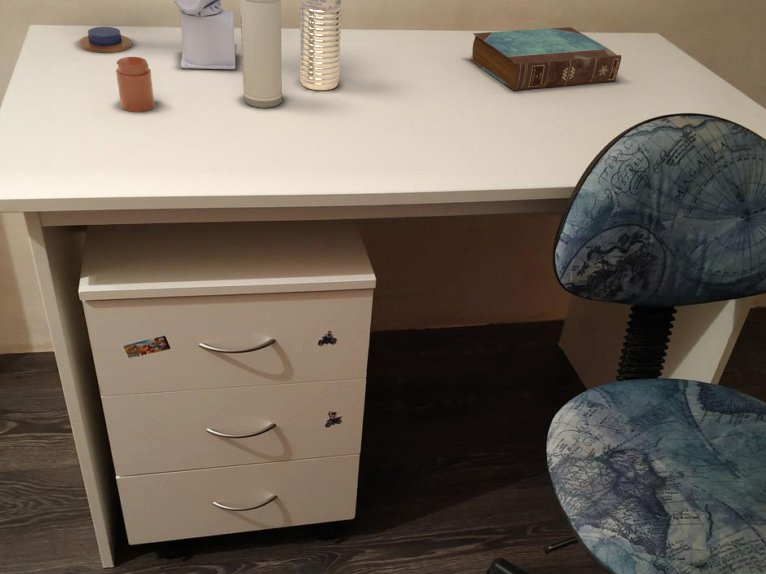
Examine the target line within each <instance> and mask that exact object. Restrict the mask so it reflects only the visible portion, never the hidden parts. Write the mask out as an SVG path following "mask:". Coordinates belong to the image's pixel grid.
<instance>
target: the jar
mask: <svg viewBox="0 0 766 574" xmlns="http://www.w3.org/2000/svg"><path fill="white" fill-rule="evenodd" d="M116 65H117V68H116V70H115V74H116V82H117V88H118V95H119V103H120V108H122V109H123V110H124V111H127V112H131V113H142V112H148V111H151V110H153V109H154V108H155V106H156V104H155V96H154V87H153V80H152V79H153V78H152V70H151V69H150V68H149V63H148V61H147V59H146V58H143V57H139V56H126V57H122V58H119V59H118V60H117V61H116Z"/></svg>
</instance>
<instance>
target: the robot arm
mask: <svg viewBox="0 0 766 574" xmlns="http://www.w3.org/2000/svg"><path fill="white" fill-rule="evenodd" d="M172 1H173V2H174V4H175V6H177V8H178V10H179V11H178V12H179V19H180V29H181V38H182V39H181V42H182V52H181V60H180V68H182V69H201V70H202V69H207V70H208V69H209V70H235V69H236V56H237V55H238V49H237V48H238V46H237V44H236V43H235V24H234V11H233V10H227V9H226V10H225V9H223V8H222V0H172Z"/></svg>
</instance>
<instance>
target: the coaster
mask: <svg viewBox="0 0 766 574" xmlns="http://www.w3.org/2000/svg"><path fill="white" fill-rule="evenodd" d="M121 38H122V41H121V43H119V44H117V45H113V46H98V45H94V44H91V43H90V42H89V39H88V35H87V36H83V37H82V38H81V39H80V40H79V45H80V48H82V49H83V50H86V51H87V52H88V51H89V52H93V53H100V54H101V53H102V54H105V53H106V54H108V53H119V52H123V51H126V50H128V49H129V48H131V47H132V40H131V39H130V38H129V37H127V36H125V35H122V34H121Z"/></svg>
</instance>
